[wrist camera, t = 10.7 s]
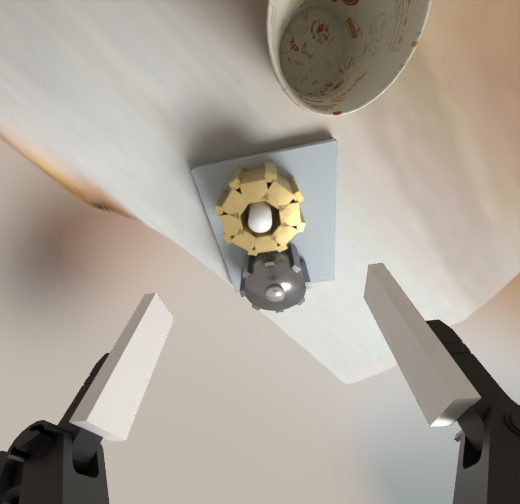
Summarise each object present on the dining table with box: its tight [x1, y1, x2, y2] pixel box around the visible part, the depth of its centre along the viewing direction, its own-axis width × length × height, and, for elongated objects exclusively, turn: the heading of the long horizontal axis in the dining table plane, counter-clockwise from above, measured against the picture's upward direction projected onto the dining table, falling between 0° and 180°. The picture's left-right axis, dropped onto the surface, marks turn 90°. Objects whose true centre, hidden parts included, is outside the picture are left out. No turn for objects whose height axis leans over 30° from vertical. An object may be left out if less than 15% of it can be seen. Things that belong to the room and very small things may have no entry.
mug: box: [266, 0, 432, 116], centre depth 14 cm, size 8×13×10 cm, turn 159°
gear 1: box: [215, 161, 306, 256], centre depth 24 cm, size 9×9×5 cm
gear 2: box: [239, 244, 311, 313], centre depth 29 cm, size 9×9×6 cm
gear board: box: [191, 138, 337, 293], centre depth 27 cm, size 20×16×7 cm
